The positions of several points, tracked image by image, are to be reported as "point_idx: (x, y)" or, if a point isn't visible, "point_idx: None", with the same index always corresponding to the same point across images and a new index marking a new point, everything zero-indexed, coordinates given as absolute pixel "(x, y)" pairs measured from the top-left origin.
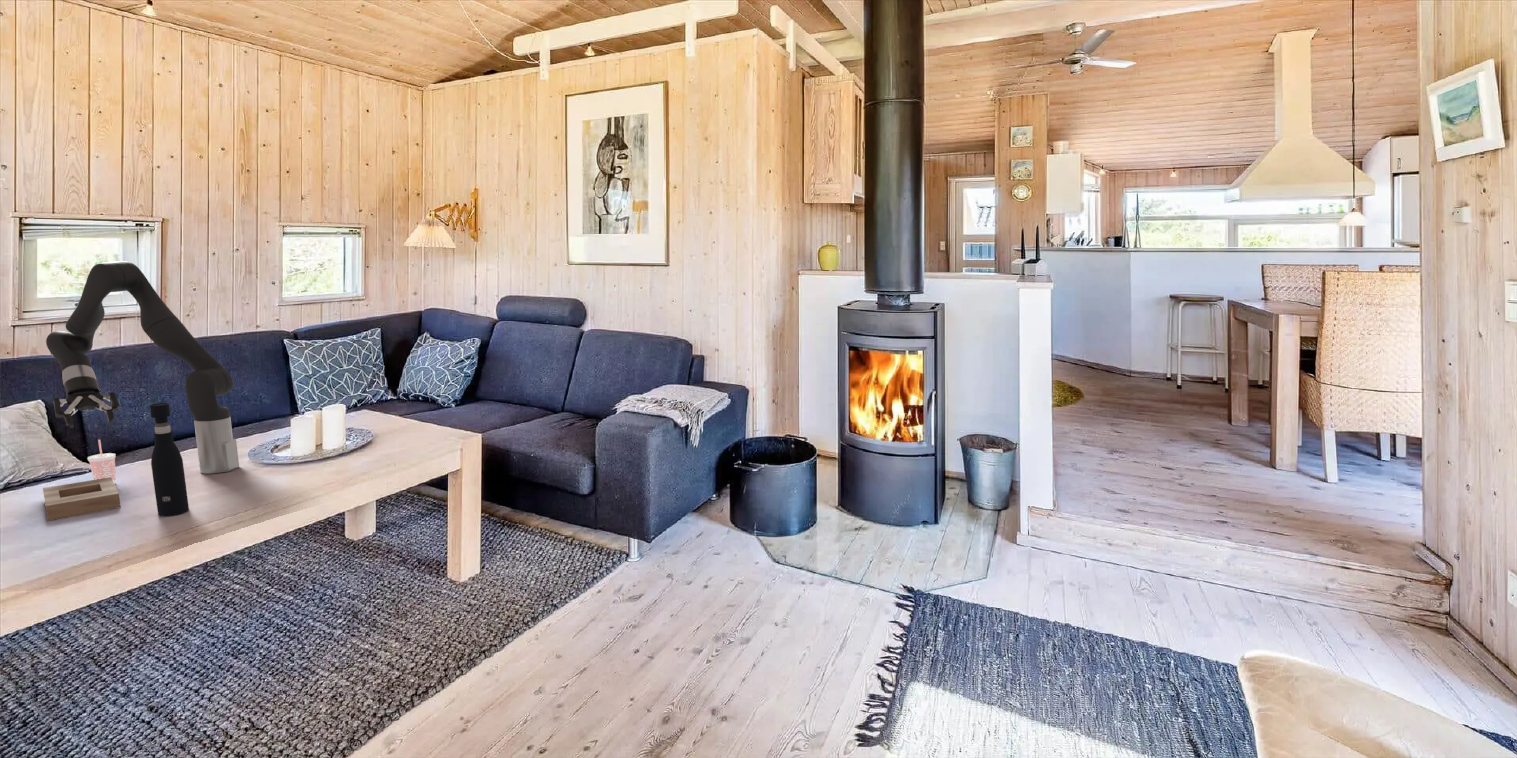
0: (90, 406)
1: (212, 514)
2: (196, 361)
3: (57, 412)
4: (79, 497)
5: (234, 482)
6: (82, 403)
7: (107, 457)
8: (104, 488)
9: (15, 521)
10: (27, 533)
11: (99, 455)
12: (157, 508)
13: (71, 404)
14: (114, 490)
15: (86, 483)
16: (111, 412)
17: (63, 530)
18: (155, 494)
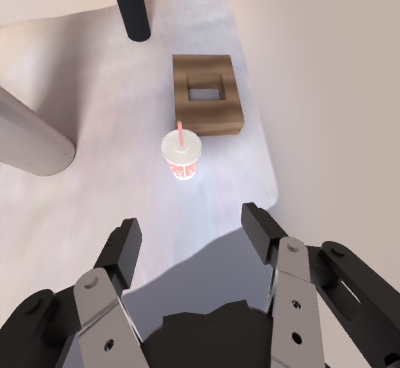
0: (188, 316)
1: (116, 15)
2: None
3: (336, 246)
4: (205, 62)
5: (64, 85)
6: (242, 346)
7: (173, 130)
8: (184, 79)
9: (250, 85)
10: (235, 51)
11: (184, 145)
12: (148, 26)
13: (312, 303)
14: (175, 65)
15: (201, 111)
16: (103, 258)
17: (212, 43)
18: (144, 5)
